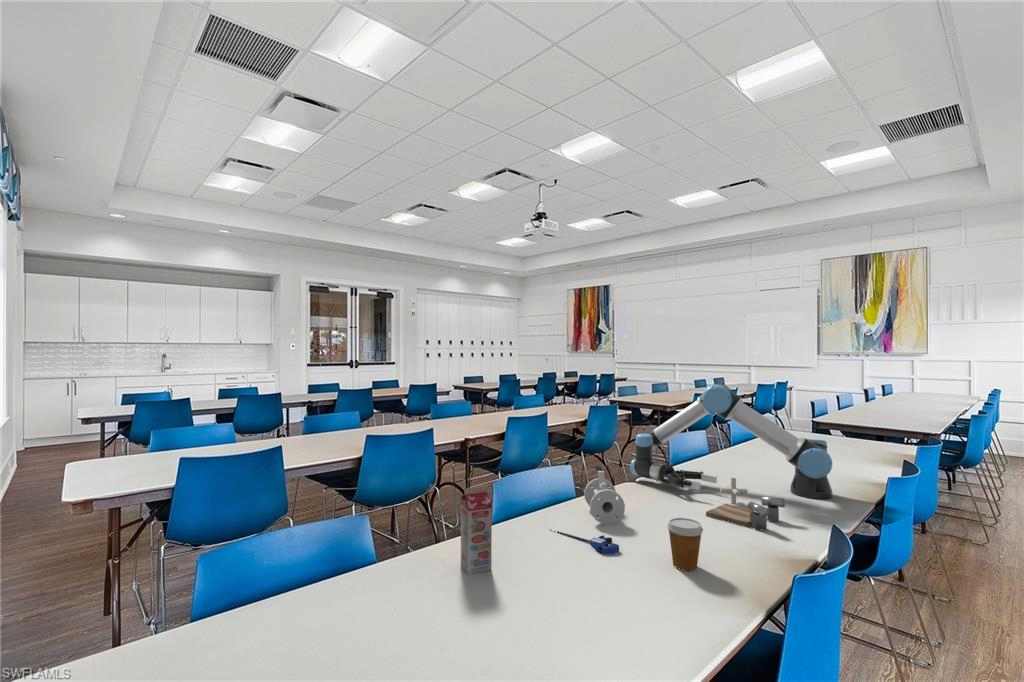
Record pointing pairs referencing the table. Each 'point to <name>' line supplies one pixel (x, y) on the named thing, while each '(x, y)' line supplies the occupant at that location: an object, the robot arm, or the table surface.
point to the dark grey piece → (758, 516)
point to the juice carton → (476, 530)
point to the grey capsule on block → (773, 507)
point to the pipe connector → (733, 490)
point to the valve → (604, 500)
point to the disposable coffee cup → (685, 542)
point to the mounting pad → (731, 514)
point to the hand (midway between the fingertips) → (708, 482)
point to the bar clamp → (599, 544)
